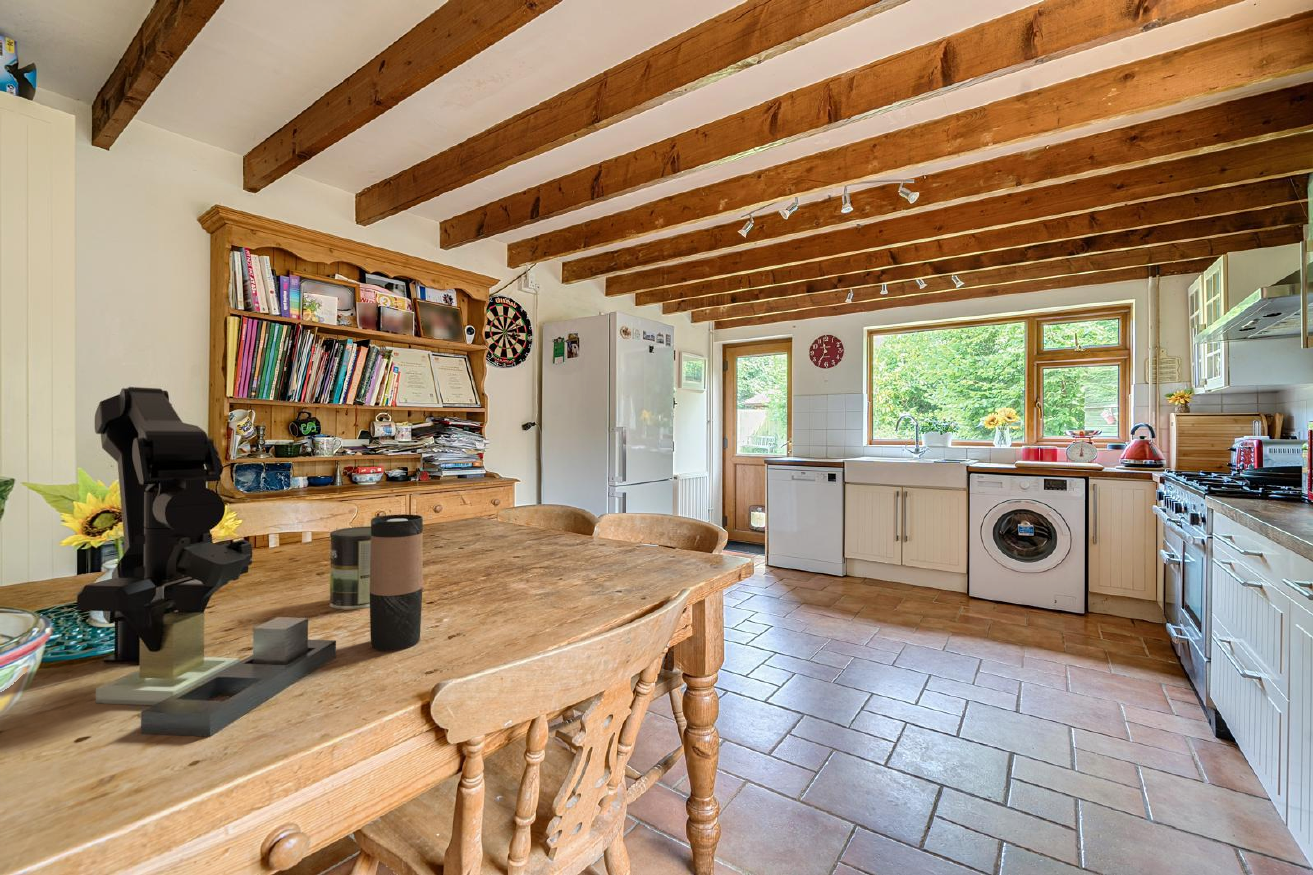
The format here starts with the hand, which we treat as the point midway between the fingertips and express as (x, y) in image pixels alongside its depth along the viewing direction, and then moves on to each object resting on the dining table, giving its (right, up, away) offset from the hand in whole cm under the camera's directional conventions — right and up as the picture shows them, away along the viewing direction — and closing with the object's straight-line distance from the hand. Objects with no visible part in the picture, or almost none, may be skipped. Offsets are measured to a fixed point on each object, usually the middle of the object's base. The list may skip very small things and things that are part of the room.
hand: (172, 644), depth 73 cm
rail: (+11, -6, -1) cm, 12 cm away
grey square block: (+11, -6, +4) cm, 13 cm away
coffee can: (+5, -6, +37) cm, 38 cm away
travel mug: (+22, -6, +16) cm, 28 cm away
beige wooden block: (0, -4, 0) cm, 4 cm away
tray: (0, -6, 0) cm, 6 cm away
